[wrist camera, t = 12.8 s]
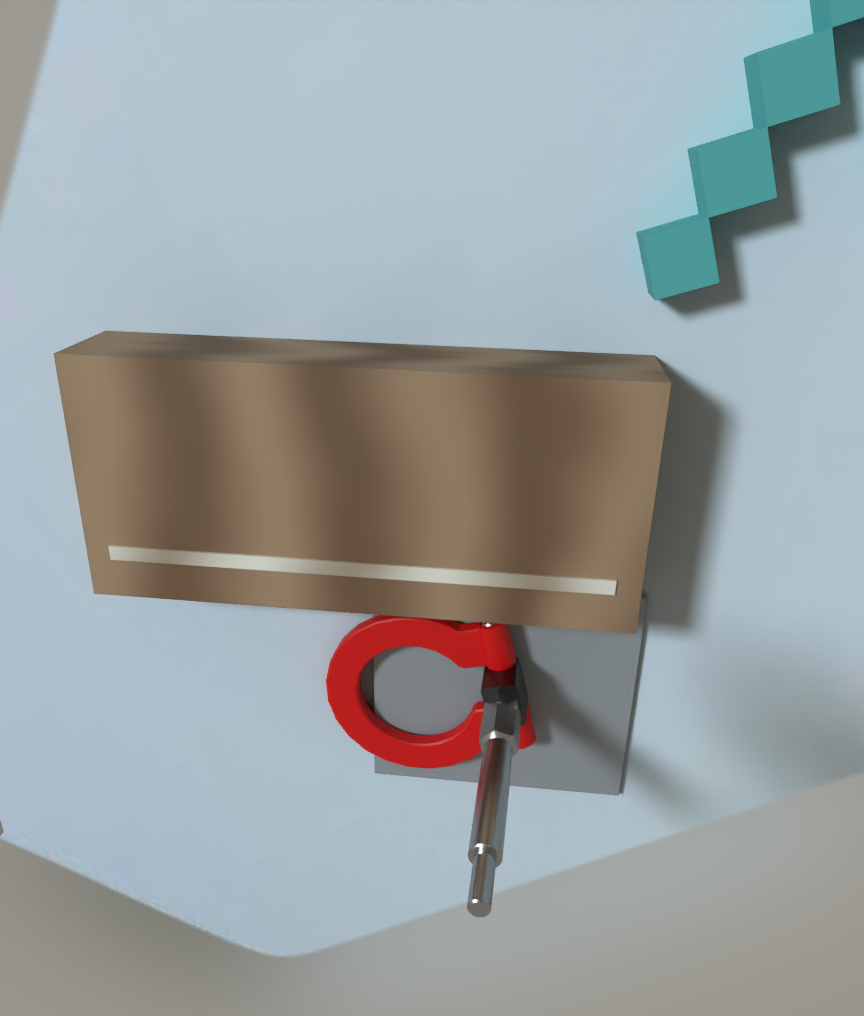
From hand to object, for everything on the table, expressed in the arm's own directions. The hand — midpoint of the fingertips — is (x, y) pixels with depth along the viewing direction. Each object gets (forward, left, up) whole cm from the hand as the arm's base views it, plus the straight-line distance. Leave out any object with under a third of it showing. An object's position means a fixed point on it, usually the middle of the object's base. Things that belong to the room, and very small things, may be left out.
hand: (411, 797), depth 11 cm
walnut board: (+5, +4, -23) cm, 24 cm away
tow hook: (+2, +15, -23) cm, 27 cm away
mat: (-1, +15, -23) cm, 28 cm away
